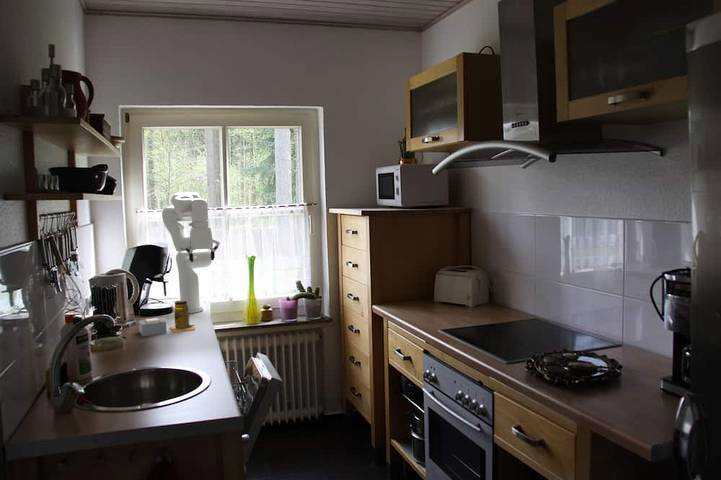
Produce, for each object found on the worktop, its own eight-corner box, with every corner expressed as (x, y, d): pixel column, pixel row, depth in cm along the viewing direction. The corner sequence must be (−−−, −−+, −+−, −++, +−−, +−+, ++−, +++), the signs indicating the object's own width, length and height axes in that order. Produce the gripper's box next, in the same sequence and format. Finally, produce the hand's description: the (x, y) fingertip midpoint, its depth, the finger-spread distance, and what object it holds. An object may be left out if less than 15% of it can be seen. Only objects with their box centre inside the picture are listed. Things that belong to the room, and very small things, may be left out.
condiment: (171, 329, 267) (169, 302, 266) (182, 324, 275) (180, 299, 274) (185, 329, 264) (183, 302, 263) (196, 325, 273) (194, 299, 272)
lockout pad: (169, 327, 272) (169, 326, 272) (189, 325, 276) (189, 324, 276) (174, 332, 262) (174, 331, 262) (194, 329, 266) (194, 328, 266)
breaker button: (145, 328, 265) (145, 319, 265) (157, 326, 267) (157, 317, 267) (147, 330, 260) (146, 321, 260) (159, 328, 263) (158, 319, 262)
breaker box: (139, 331, 266) (138, 319, 266) (162, 328, 271) (162, 316, 270) (142, 336, 257) (141, 323, 257) (166, 333, 262) (165, 320, 261)
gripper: (183, 226, 277) (185, 263, 279) (220, 224, 285) (222, 260, 286) (180, 225, 284) (182, 261, 285) (216, 223, 292) (218, 258, 293)
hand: (202, 260), depth 286 cm, fingers open, 9 cm apart
